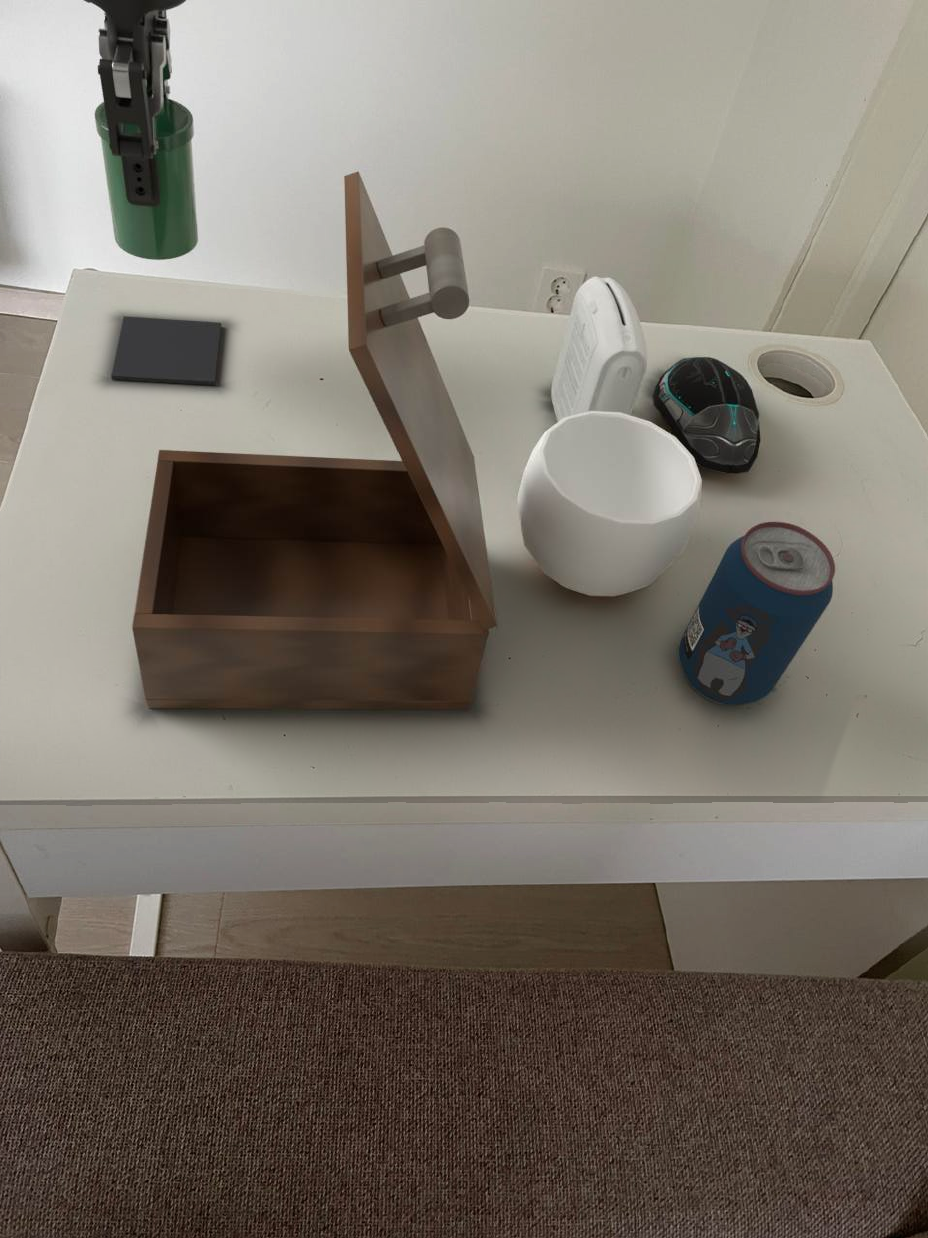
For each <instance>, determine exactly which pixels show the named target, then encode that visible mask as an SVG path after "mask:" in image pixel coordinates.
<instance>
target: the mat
mask: <svg viewBox="0 0 928 1238" xmlns="http://www.w3.org/2000/svg"><path fill="white" fill-rule="evenodd" d="M221 334H222V322H215V321H202V320H201V321H200V320H186V319H185V320H184V319H170V318H157V317H140V316H125V315H124V316H123V317H122V322H121V327H120V332H119V336H118V343H117V346H116V352H115V356H114V361H113V366H112V371H111V380H112V381H113V380H114V381H127V382H128V381H132V382H148V383H166V384H184V385H198V386H199V385H201V386H216V381H217V373H218V372H217V371H218V362H219V353H220V343H221Z"/></svg>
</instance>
